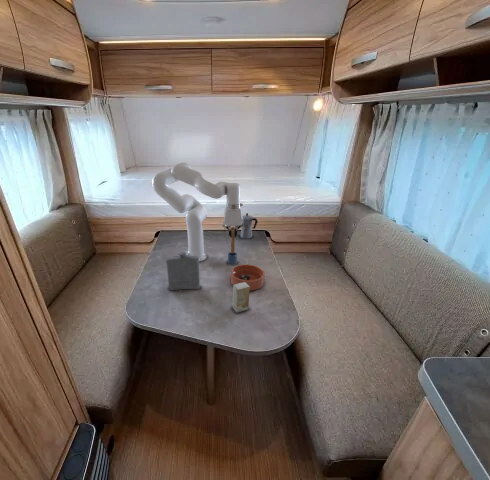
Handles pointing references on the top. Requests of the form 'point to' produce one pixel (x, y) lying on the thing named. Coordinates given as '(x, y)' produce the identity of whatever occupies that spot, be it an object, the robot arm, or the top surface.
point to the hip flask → (183, 272)
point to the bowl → (254, 272)
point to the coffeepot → (247, 226)
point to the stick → (232, 239)
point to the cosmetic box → (241, 296)
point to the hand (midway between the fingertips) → (232, 236)
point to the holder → (232, 258)
